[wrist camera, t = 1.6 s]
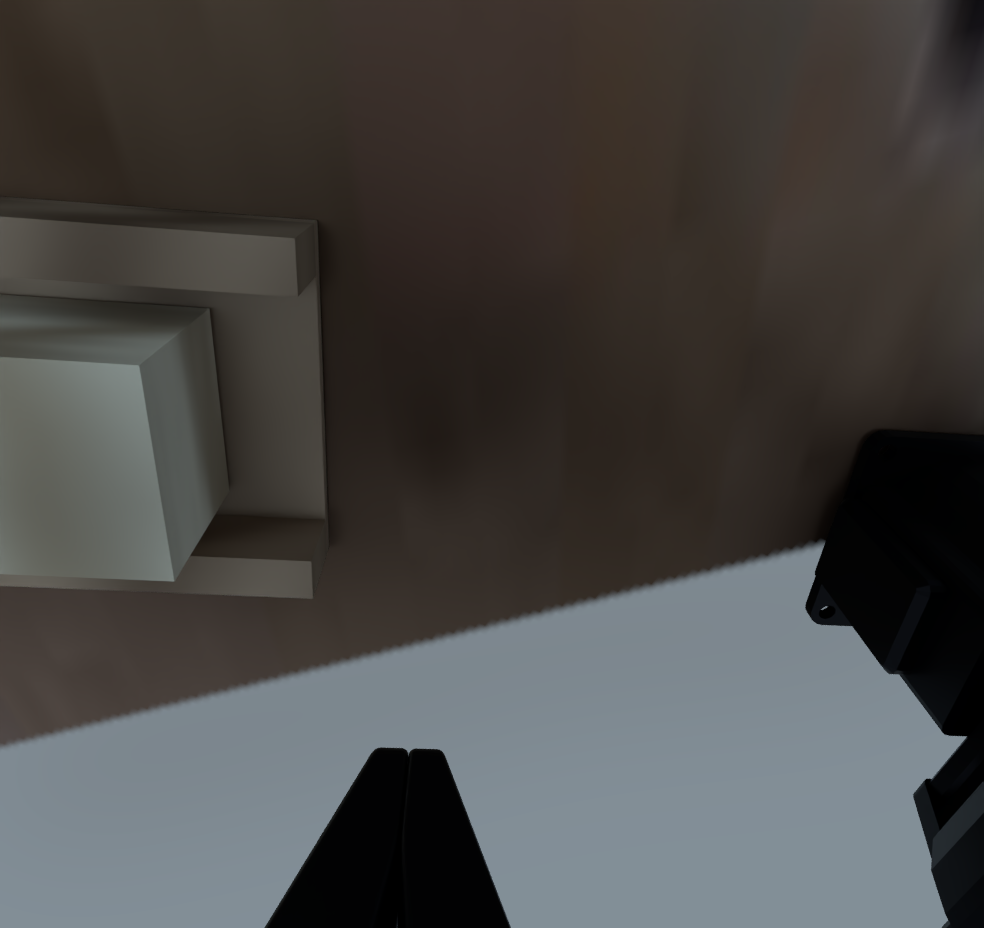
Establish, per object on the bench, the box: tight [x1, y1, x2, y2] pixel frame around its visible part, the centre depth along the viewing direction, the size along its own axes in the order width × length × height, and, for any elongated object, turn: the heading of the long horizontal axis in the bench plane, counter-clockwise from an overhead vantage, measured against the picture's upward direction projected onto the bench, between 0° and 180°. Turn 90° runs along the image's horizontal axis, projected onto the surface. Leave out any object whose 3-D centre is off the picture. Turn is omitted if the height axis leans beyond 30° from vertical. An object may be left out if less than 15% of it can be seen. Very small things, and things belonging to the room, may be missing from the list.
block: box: [0, 294, 229, 581], centre depth 16 cm, size 5×5×4 cm
